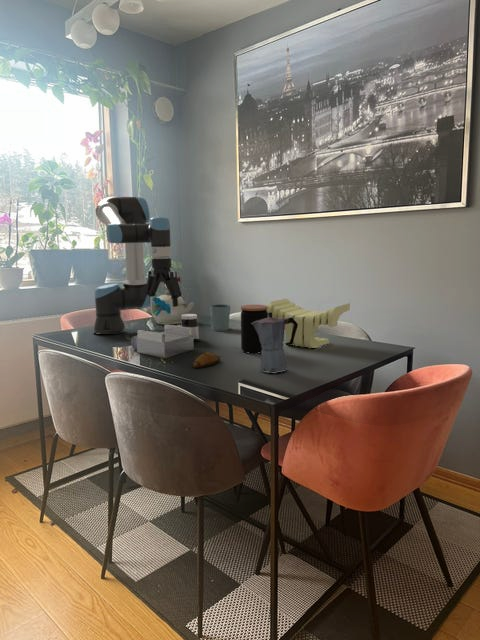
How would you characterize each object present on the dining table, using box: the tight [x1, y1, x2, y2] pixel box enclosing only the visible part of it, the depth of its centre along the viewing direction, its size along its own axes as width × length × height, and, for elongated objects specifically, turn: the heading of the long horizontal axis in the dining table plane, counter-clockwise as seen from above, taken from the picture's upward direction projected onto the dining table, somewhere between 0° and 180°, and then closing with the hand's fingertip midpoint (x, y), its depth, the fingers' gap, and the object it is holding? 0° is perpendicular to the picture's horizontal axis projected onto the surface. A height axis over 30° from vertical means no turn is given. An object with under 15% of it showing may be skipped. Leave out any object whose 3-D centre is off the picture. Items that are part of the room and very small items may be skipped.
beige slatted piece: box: [267, 298, 351, 349], centre depth 195 cm, size 30×16×18 cm, turn 53°
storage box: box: [130, 324, 195, 359], centre depth 191 cm, size 22×16×10 cm
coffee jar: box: [240, 304, 268, 353], centre depth 186 cm, size 11×11×18 cm
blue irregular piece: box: [151, 296, 171, 316], centre depth 185 cm, size 11×6×10 cm
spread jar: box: [177, 313, 200, 343], centre depth 208 cm, size 12×11×12 cm
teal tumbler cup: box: [209, 303, 231, 332], centre depth 233 cm, size 10×10×12 cm
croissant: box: [192, 351, 221, 369], centre depth 168 cm, size 14×7×5 cm, turn 143°
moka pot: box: [252, 312, 298, 372], centre depth 157 cm, size 10×15×20 cm, turn 95°
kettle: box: [151, 276, 195, 325], centre depth 253 cm, size 25×18×25 cm
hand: (163, 313), depth 187 cm, fingers closed on blue irregular piece, 11 cm apart
